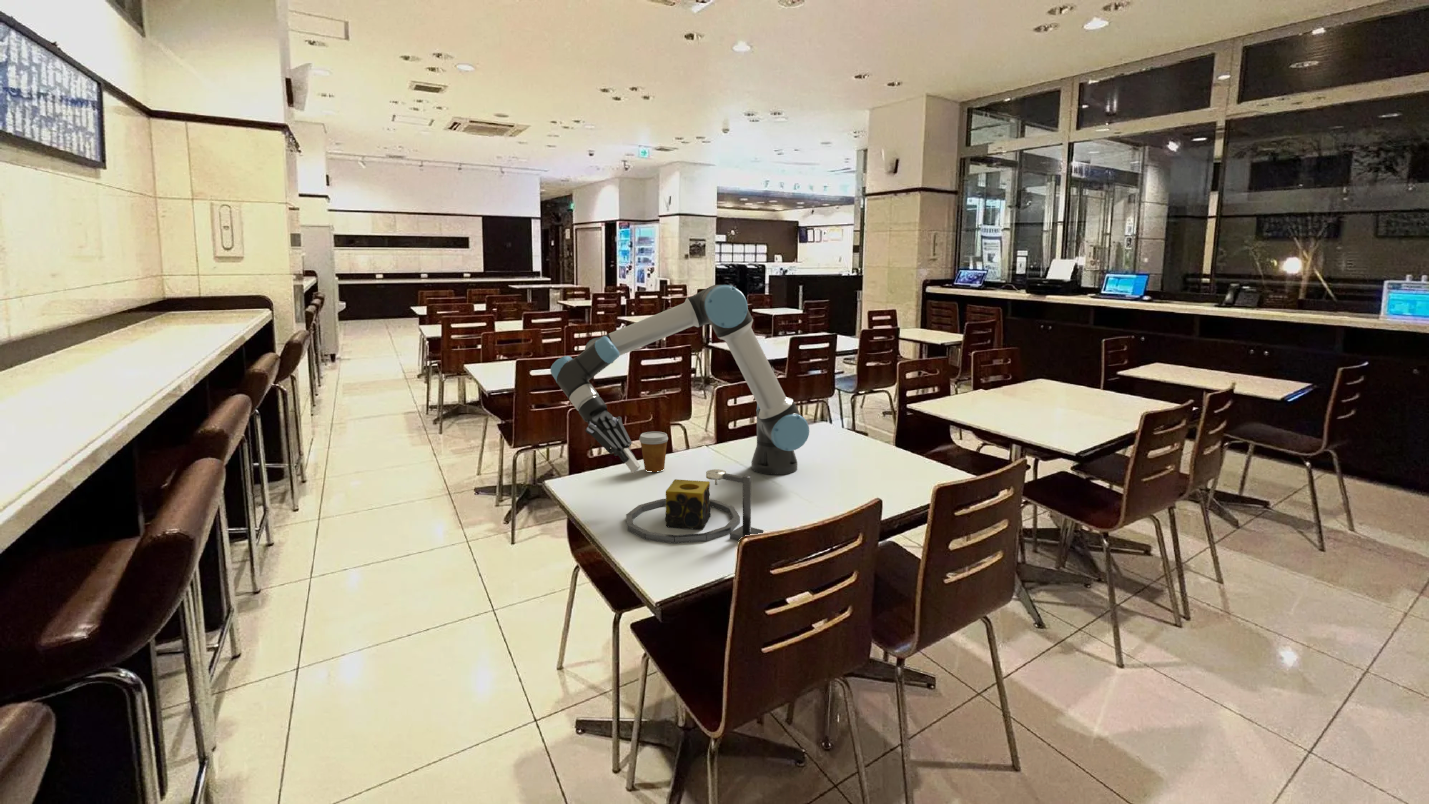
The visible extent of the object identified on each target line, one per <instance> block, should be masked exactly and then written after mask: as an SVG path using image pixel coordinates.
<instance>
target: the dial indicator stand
mask: <svg viewBox="0 0 1429 804" xmlns="http://www.w3.org/2000/svg"><path fill="white" fill-rule="evenodd" d="M705 477H706V479H708V480H711V481H714V485H715V486H717V485H718V481H720V480H726V481H729V482H730V481H731V482H734V483H735V482H736V483H740V484H742V525H741V526H739V527H738V528H737V527H736V528H735V529H734V530H733V531H732V532H730V534H729V539H730V540H734V541H738V540H739V539H740V538H741V537H744V536H745V535H750V534H758V533H763V532H765V531H764V530H765V529H764V530H763V529H759V528H756V527H752V510H751V509H752V477H751V475H737V474H732V473H727V471H726V470H723V469H716V468H715V469H709V470H707V471H705ZM738 542H739V541H738Z"/></svg>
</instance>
